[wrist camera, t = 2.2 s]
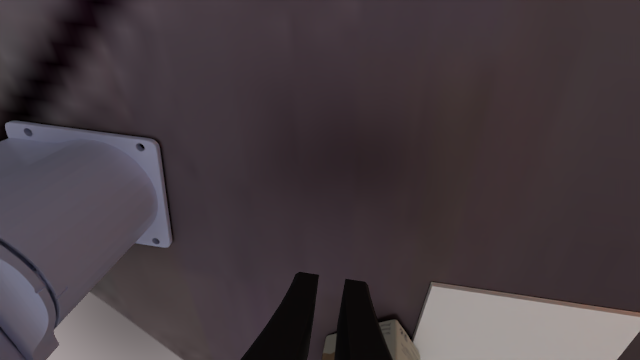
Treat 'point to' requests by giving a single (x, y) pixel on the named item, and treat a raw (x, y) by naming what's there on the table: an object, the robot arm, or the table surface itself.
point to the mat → (517, 327)
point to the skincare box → (396, 340)
